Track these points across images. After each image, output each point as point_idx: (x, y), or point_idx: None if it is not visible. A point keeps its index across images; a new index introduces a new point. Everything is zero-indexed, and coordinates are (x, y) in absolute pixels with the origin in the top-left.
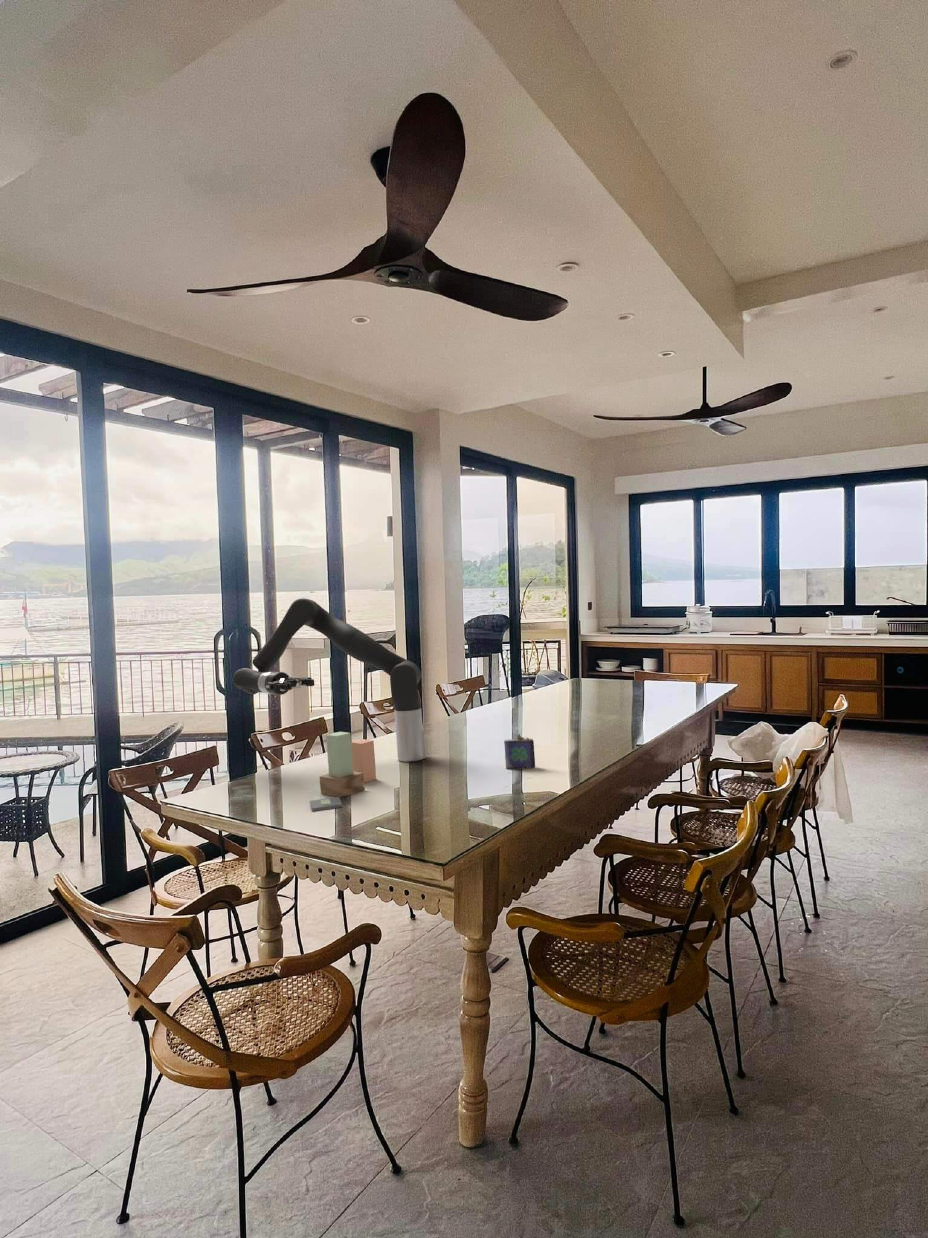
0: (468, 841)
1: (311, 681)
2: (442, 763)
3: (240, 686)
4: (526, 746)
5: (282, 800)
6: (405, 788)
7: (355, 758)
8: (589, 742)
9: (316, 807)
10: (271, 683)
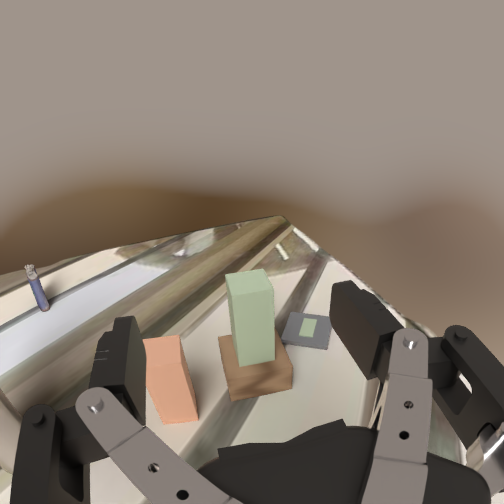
0: (247, 224)
1: (136, 329)
2: (34, 383)
3: None
4: (36, 273)
5: (365, 390)
6: (176, 328)
7: (187, 378)
8: None
9: (326, 316)
10: (493, 357)
